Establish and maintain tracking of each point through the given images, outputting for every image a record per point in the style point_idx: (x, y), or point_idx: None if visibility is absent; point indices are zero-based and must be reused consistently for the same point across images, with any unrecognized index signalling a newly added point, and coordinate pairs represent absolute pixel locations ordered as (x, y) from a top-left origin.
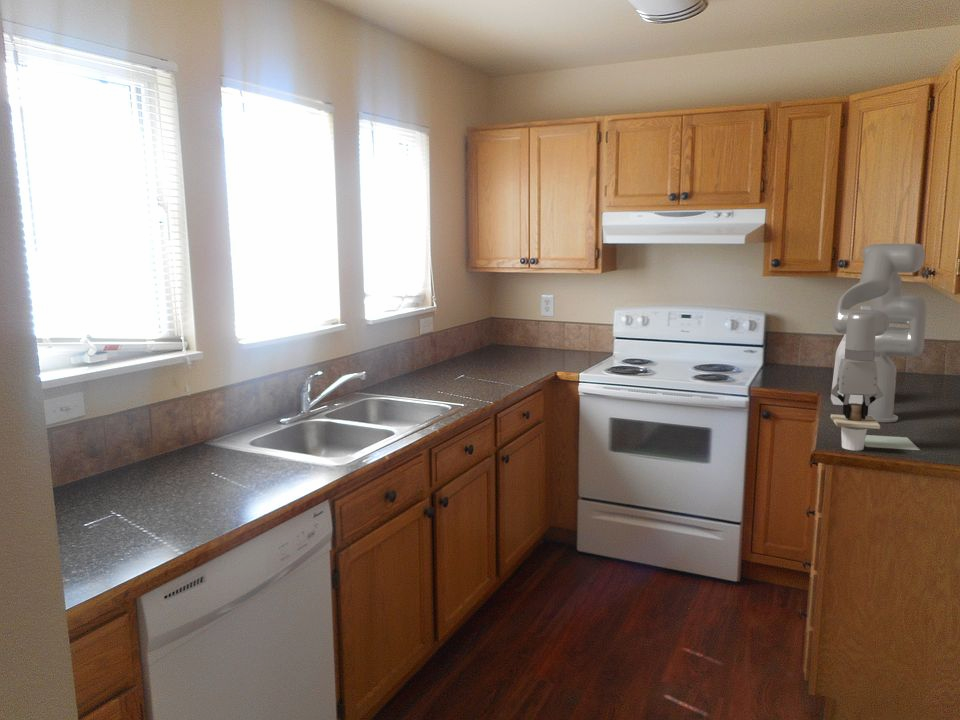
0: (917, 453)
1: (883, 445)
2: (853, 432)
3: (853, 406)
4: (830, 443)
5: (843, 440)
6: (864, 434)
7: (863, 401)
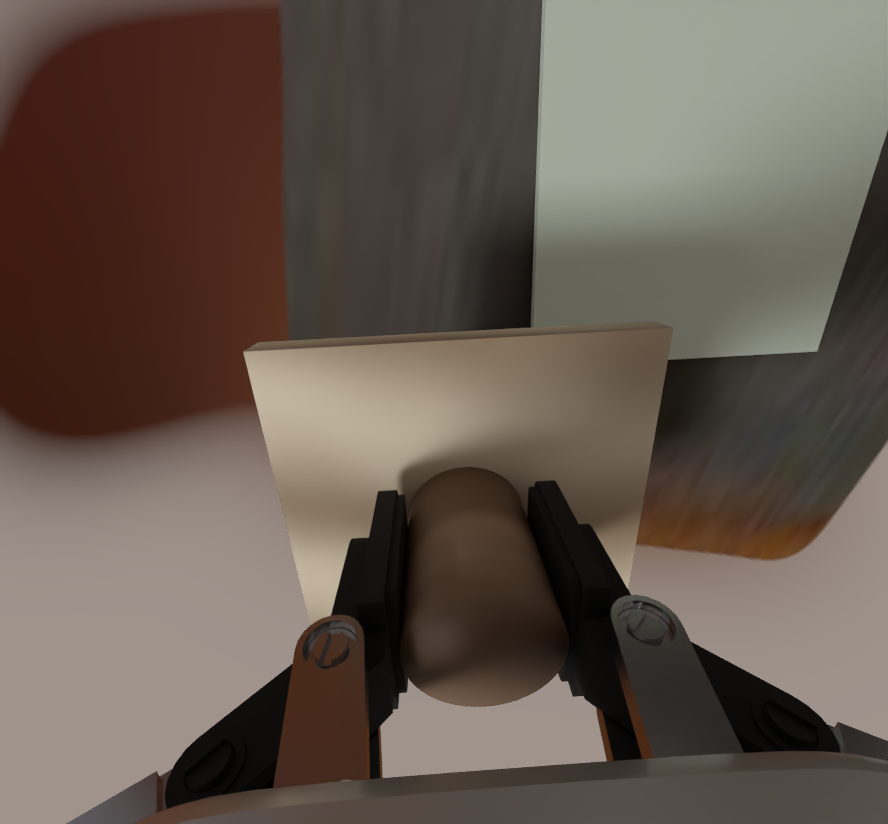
0: (774, 385)
1: (643, 307)
2: None
3: (446, 689)
4: (335, 309)
5: None
6: None
7: (614, 632)
